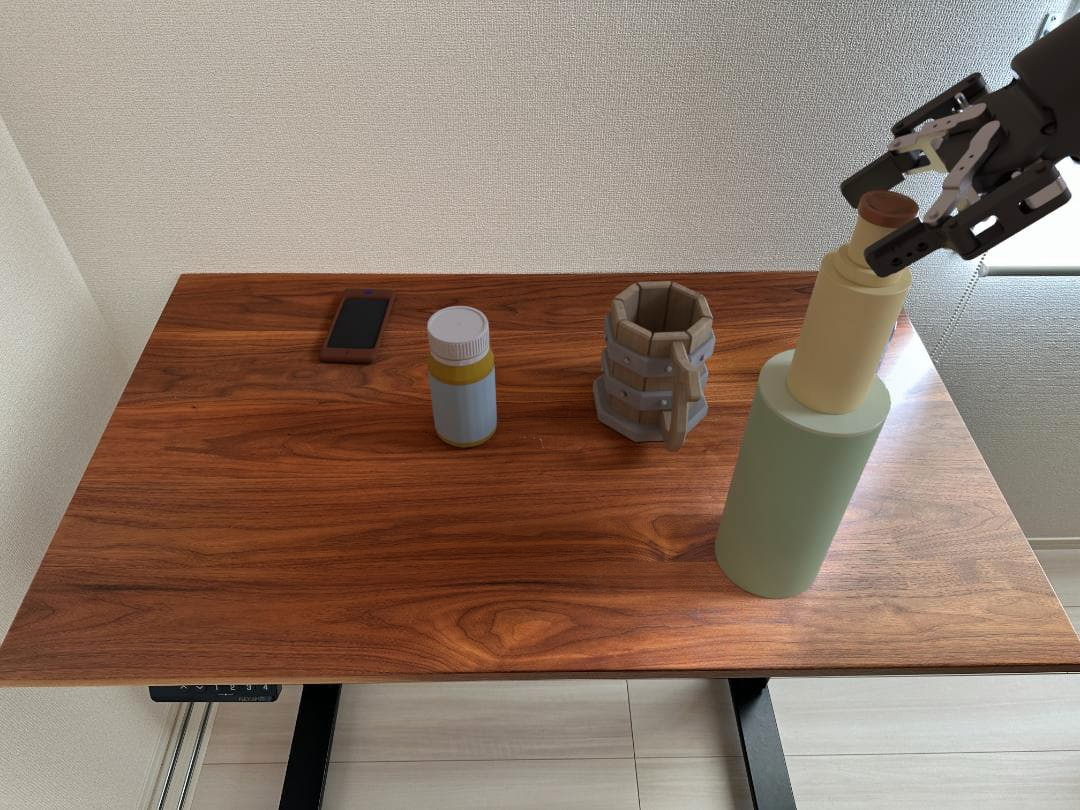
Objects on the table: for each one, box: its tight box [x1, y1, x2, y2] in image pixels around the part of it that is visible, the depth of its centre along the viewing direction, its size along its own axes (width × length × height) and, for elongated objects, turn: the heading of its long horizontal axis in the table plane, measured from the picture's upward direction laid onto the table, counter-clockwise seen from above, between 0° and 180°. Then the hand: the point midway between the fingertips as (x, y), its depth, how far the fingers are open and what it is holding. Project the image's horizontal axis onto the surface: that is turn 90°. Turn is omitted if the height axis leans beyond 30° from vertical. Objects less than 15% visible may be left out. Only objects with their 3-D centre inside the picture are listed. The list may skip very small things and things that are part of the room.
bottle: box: [426, 305, 498, 449], centre depth 83 cm, size 7×7×15 cm
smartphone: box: [318, 288, 397, 364], centre depth 101 cm, size 7×1×15 cm
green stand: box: [714, 348, 892, 600], centre depth 68 cm, size 10×10×22 cm
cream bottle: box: [786, 190, 920, 414], centre depth 55 cm, size 6×6×16 cm
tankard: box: [592, 280, 716, 453], centre depth 83 cm, size 20×13×15 cm, turn 4°
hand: (857, 230), depth 51 cm, fingers open, 8 cm apart
